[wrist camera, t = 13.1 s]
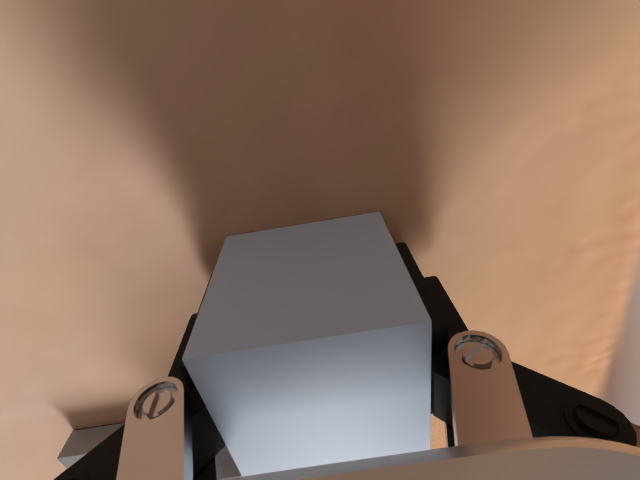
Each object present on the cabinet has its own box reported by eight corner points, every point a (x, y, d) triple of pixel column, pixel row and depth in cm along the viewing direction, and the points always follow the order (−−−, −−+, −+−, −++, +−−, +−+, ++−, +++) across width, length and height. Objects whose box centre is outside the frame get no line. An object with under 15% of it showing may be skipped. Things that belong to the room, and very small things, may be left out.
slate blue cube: (226, 236, 11) (181, 359, 7) (379, 211, 11) (431, 320, 7) (262, 344, 14) (246, 484, 9) (387, 325, 14) (429, 458, 9)
